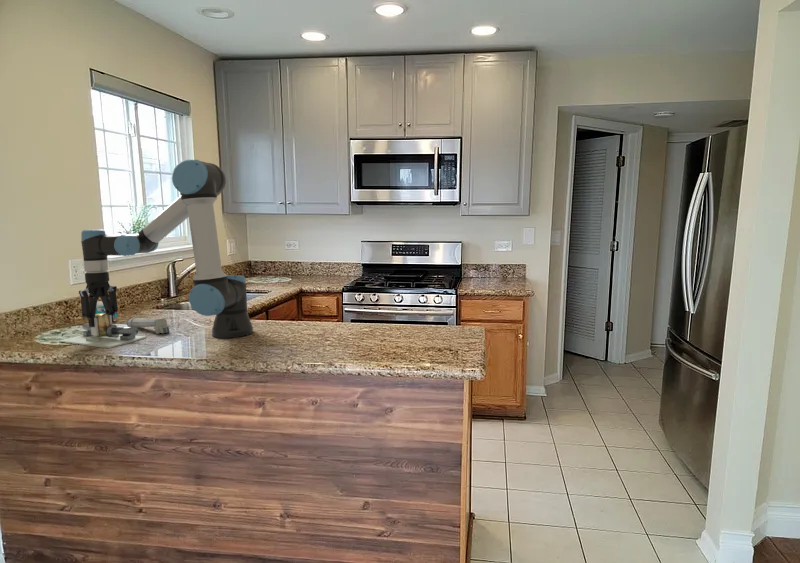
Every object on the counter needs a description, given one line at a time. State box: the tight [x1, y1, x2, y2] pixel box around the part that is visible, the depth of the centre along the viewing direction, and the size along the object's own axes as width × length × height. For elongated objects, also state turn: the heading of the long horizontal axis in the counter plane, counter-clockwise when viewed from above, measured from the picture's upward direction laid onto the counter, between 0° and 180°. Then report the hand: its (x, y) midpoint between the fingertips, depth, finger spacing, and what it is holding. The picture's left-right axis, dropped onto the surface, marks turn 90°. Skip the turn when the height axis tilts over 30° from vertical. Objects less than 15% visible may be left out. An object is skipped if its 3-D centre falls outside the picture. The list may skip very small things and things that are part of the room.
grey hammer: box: [126, 317, 171, 335], centre depth 199 cm, size 5×7×25 cm
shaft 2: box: [106, 323, 139, 341], centre depth 182 cm, size 10×5×5 cm, turn 84°
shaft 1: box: [82, 322, 94, 337], centre depth 188 cm, size 10×5×5 cm, turn 54°
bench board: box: [58, 334, 147, 349], centre depth 183 cm, size 26×15×2 cm, turn 69°
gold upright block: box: [95, 313, 109, 337], centre depth 182 cm, size 5×5×8 cm
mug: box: [95, 300, 118, 320], centre depth 217 cm, size 8×12×8 cm
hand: (102, 333), depth 183 cm, fingers closed on gold upright block, 5 cm apart
